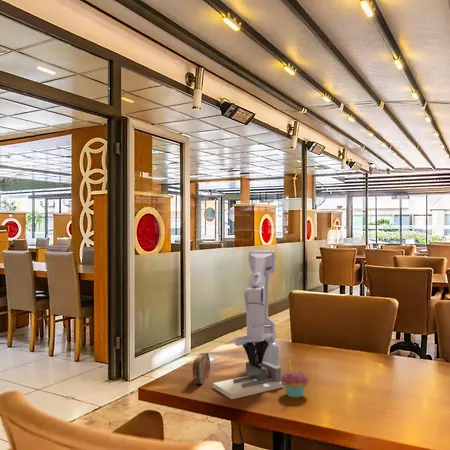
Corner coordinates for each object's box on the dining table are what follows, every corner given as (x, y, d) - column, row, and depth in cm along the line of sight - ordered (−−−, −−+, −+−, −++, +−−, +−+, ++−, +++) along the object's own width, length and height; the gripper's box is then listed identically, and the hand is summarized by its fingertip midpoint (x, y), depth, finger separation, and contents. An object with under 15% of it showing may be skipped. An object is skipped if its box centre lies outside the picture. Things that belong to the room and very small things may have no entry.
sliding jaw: (251, 373, 158) (251, 349, 158) (266, 380, 150) (266, 356, 150) (245, 374, 157) (245, 350, 157) (260, 381, 149) (260, 357, 149)
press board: (262, 376, 162) (262, 359, 162) (283, 387, 152) (283, 369, 152) (213, 387, 152) (212, 369, 152) (231, 399, 142) (231, 379, 142)
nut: (260, 380, 157) (266, 370, 158) (267, 383, 153) (273, 373, 155) (252, 373, 155) (259, 363, 157) (259, 377, 152) (266, 366, 153)
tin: (200, 387, 152) (200, 362, 152) (191, 387, 153) (190, 361, 153) (210, 373, 167) (210, 350, 167) (202, 372, 168) (202, 349, 168)
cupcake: (291, 401, 139) (290, 362, 139) (275, 392, 147) (275, 355, 147) (313, 396, 143) (313, 358, 143) (297, 387, 151) (297, 351, 151)
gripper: (243, 328, 146) (243, 371, 146) (279, 323, 154) (280, 363, 154) (231, 324, 152) (232, 365, 152) (267, 319, 160) (268, 358, 160)
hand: (255, 364), depth 153 cm, fingers closed on sliding jaw, 2 cm apart
